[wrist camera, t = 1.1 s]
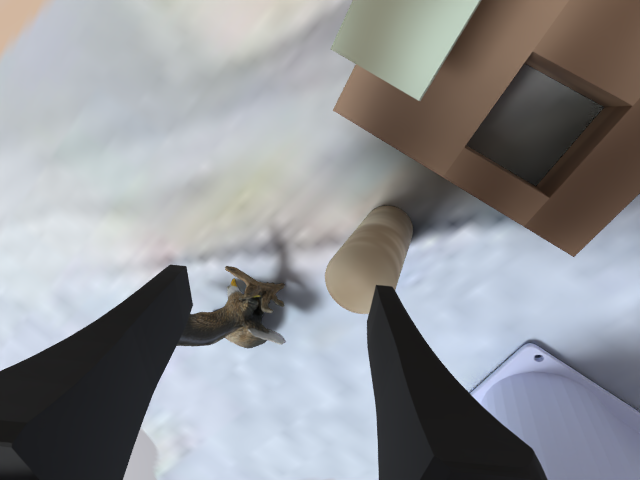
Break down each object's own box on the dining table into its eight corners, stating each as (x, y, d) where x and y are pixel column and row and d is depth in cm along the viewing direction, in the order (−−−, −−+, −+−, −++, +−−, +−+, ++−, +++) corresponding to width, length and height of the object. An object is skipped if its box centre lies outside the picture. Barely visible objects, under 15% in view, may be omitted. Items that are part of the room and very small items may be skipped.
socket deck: (780, 8, 14) (1050, -79, 8) (557, 237, 20) (608, 297, 13) (477, -139, 16) (494, -311, 9) (347, 110, 21) (303, 109, 15)
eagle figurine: (228, 229, 26) (155, 300, 28) (226, 300, 20) (135, 379, 23) (300, 277, 30) (231, 334, 32) (315, 347, 24) (230, 409, 27)
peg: (423, 223, 22) (409, 276, 15) (395, 261, 23) (370, 326, 16) (379, 196, 22) (346, 234, 15) (354, 235, 24) (313, 287, 17)
